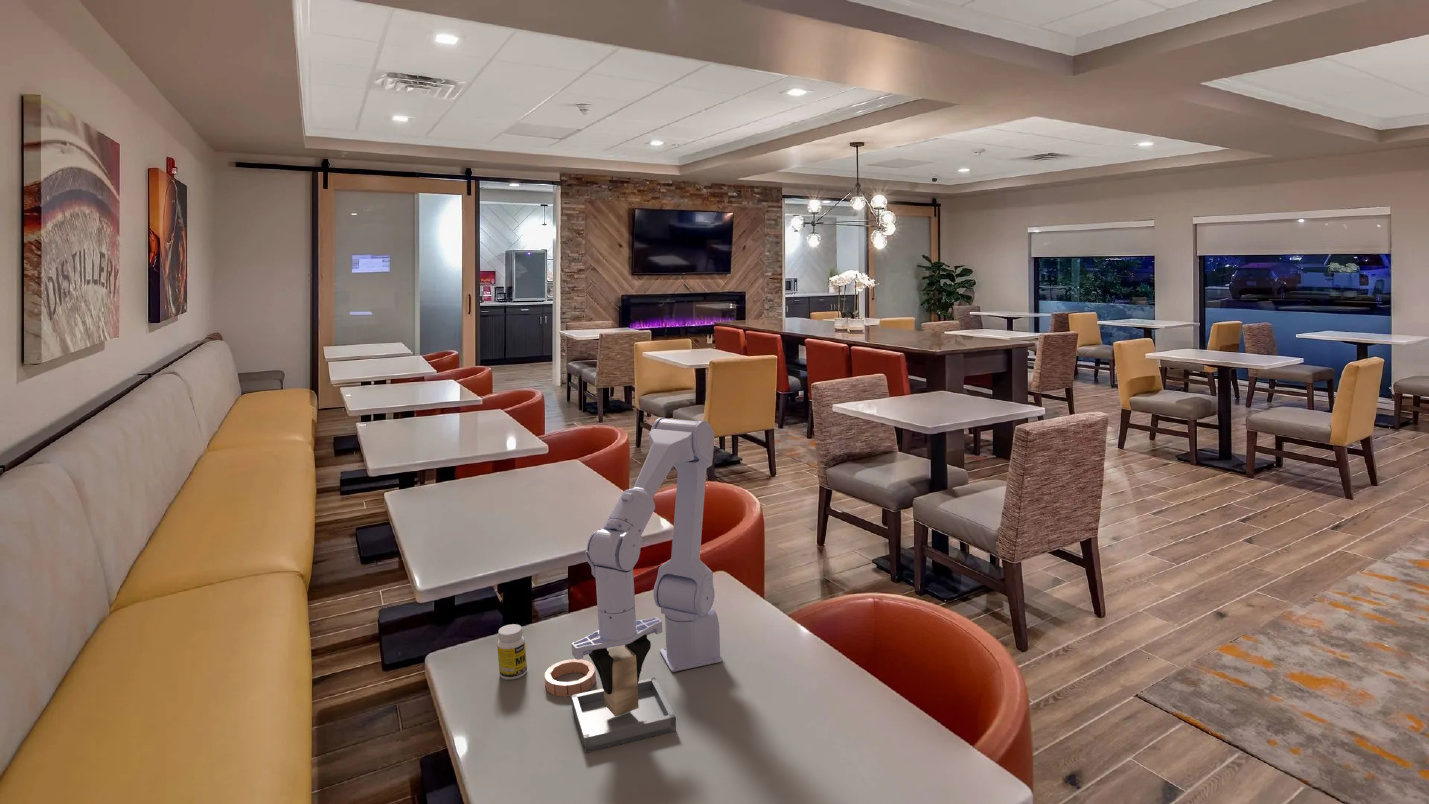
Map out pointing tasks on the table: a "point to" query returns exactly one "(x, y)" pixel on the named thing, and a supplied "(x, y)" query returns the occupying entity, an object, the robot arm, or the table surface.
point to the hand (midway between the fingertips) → (620, 686)
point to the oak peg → (623, 682)
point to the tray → (622, 717)
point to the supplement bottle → (511, 652)
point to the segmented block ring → (573, 686)
